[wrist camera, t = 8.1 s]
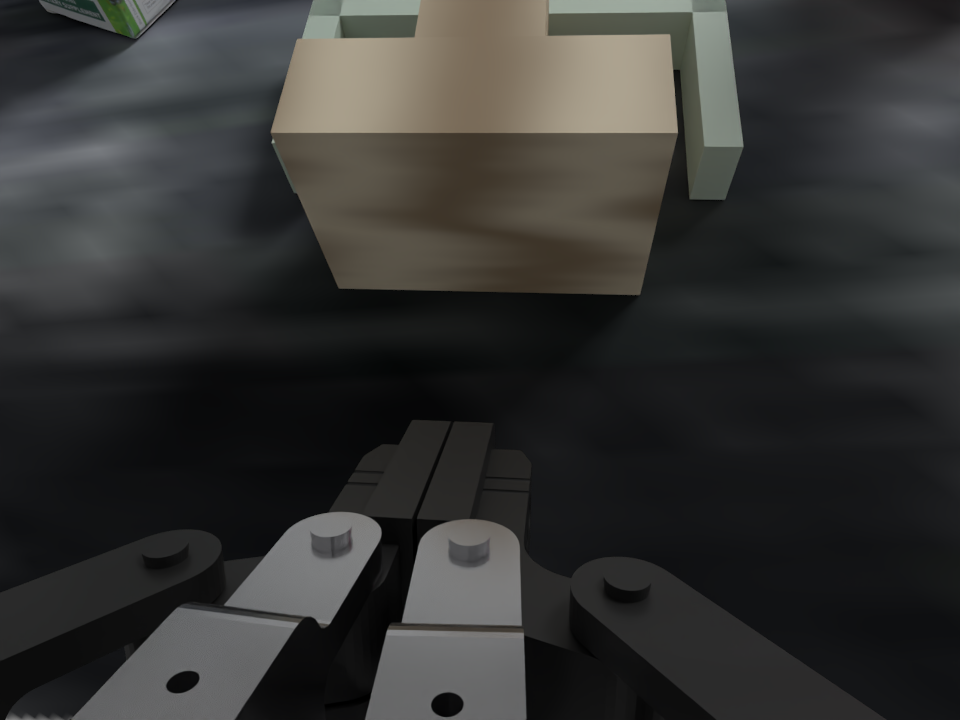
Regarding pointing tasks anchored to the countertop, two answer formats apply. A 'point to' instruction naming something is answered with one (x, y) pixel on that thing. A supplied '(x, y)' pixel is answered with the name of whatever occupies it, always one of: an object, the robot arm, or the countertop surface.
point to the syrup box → (111, 13)
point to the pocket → (607, 11)
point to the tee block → (481, 152)
